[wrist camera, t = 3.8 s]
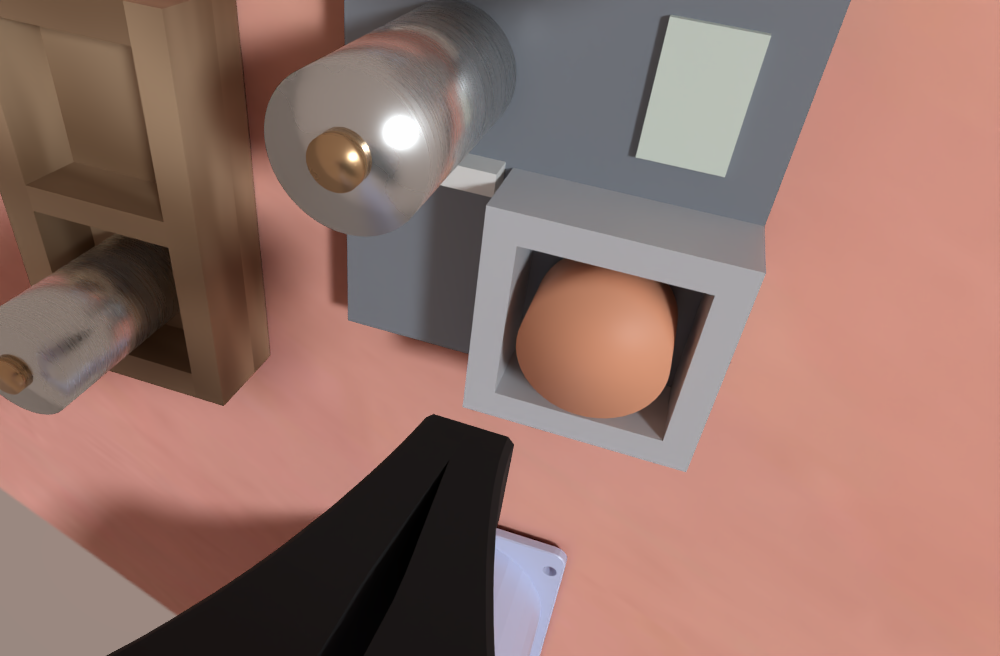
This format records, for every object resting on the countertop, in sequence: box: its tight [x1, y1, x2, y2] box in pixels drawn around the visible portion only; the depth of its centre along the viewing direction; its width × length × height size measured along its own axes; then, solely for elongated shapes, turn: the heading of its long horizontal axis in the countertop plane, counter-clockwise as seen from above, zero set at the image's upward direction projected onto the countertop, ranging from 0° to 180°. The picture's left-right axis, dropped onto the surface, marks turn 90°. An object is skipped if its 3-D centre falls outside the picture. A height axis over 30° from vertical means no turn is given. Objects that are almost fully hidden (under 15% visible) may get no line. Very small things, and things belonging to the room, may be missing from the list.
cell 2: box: [264, 0, 517, 237], centre depth 14 cm, size 3×3×6 cm
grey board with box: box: [344, 0, 851, 472], centre depth 17 cm, size 11×10×3 cm
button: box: [516, 258, 678, 418], centre depth 17 cm, size 4×4×2 cm
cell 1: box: [0, 233, 180, 415], centre depth 21 cm, size 3×3×6 cm
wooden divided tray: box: [0, 0, 270, 406], centre depth 21 cm, size 12×6×3 cm, turn 173°
